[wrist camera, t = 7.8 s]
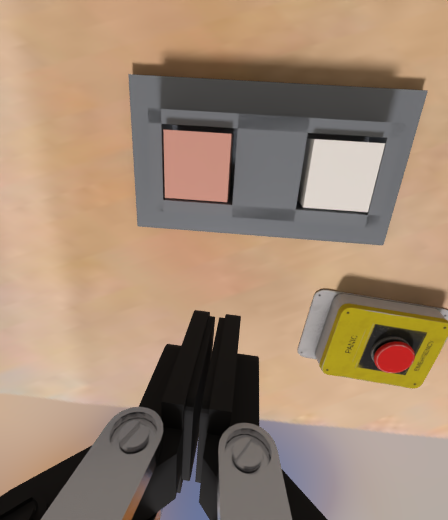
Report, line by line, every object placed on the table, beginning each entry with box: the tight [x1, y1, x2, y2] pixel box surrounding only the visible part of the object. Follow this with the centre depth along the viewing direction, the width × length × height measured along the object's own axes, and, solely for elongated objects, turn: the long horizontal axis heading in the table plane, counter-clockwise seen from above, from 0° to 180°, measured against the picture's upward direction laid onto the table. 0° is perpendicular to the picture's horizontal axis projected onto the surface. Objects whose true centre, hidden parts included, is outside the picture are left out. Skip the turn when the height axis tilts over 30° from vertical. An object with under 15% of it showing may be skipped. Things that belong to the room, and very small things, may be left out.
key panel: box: [129, 74, 427, 245], centre depth 25 cm, size 24×13×4 cm, turn 87°
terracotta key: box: [163, 130, 233, 202], centre depth 24 cm, size 5×5×3 cm
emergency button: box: [298, 289, 448, 388], centre depth 32 cm, size 9×4×15 cm
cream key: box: [297, 139, 385, 212], centre depth 24 cm, size 5×5×3 cm
